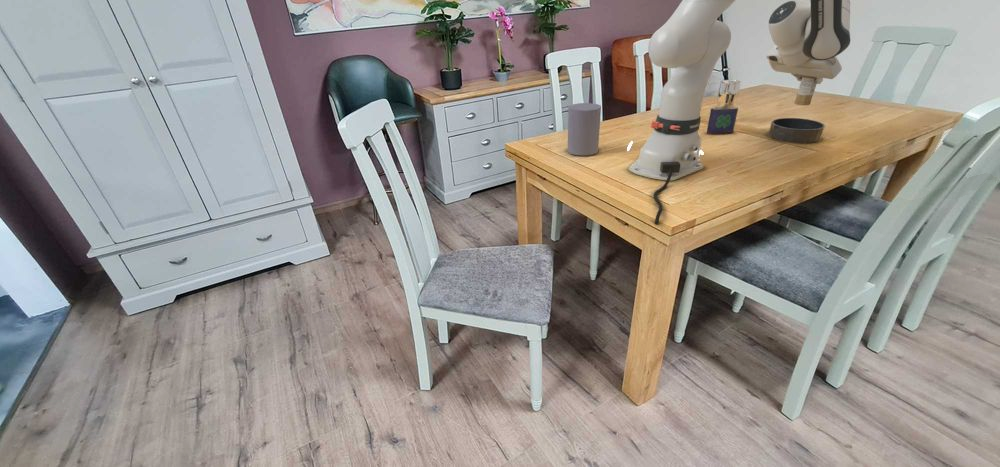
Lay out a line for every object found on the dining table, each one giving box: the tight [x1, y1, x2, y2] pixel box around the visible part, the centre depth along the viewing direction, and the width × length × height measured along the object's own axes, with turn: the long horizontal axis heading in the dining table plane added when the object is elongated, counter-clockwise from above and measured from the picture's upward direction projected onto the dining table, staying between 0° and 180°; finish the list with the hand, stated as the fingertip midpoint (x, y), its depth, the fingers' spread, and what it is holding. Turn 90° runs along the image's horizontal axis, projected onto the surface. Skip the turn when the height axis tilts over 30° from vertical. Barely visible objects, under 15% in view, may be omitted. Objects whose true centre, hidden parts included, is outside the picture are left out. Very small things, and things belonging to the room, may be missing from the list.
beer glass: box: [716, 79, 742, 108], centre depth 159 cm, size 7×7×15 cm
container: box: [566, 102, 602, 157], centre depth 137 cm, size 10×10×15 cm
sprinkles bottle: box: [794, 75, 817, 106], centre depth 133 cm, size 5×5×14 cm
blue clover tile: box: [706, 103, 739, 135], centre depth 147 cm, size 9×3×11 cm, turn 88°
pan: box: [768, 117, 826, 144], centre depth 141 cm, size 15×15×4 cm
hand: (810, 80), depth 133 cm, fingers closed on sprinkles bottle, 4 cm apart
